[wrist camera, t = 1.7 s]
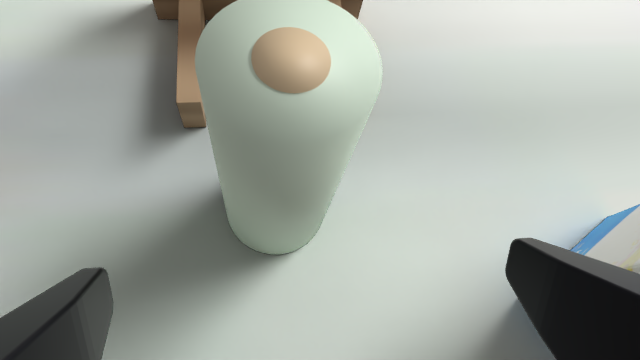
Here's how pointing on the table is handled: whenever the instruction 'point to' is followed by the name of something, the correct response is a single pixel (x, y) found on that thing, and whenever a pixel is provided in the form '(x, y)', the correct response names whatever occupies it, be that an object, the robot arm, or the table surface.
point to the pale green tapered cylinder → (284, 112)
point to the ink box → (615, 240)
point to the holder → (191, 11)
